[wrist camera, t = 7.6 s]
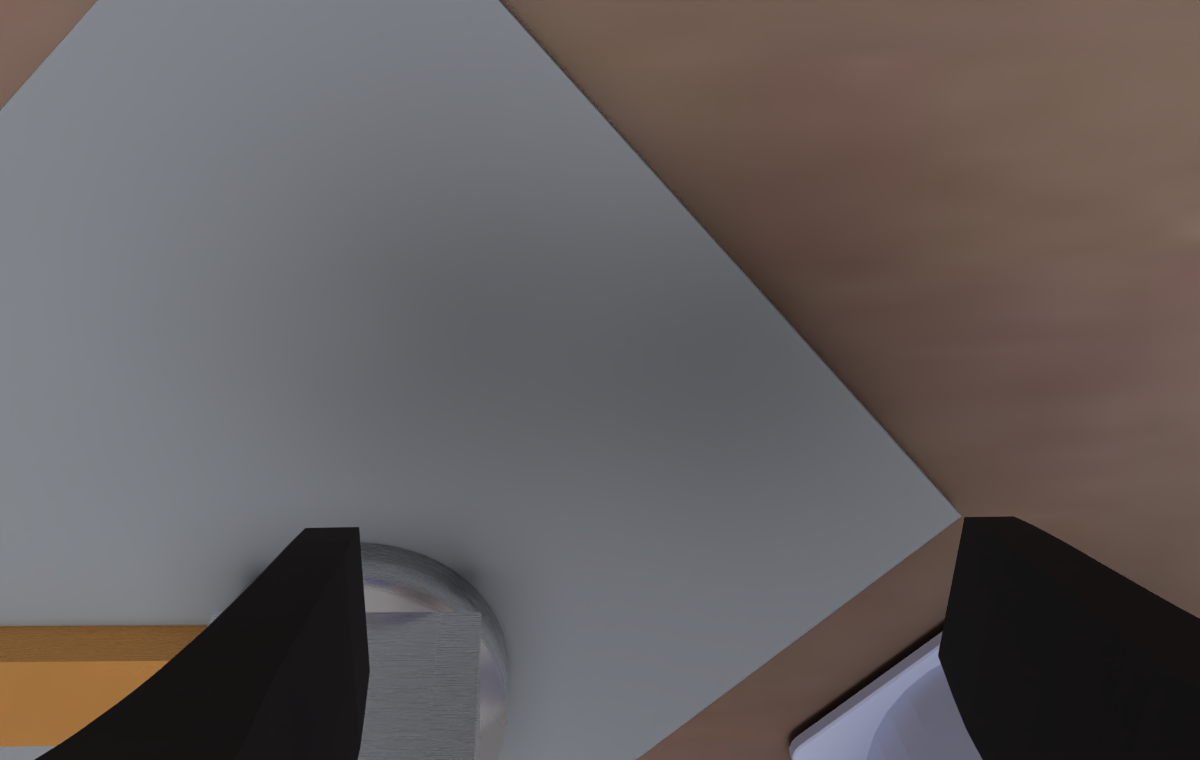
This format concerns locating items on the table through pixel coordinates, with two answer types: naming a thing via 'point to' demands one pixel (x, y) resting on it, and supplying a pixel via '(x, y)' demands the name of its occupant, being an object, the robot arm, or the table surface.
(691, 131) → the table surface
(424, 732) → the brushed metal cube
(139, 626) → the scoop
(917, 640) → the table surface
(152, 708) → the robot arm
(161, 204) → the mat
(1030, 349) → the table surface
